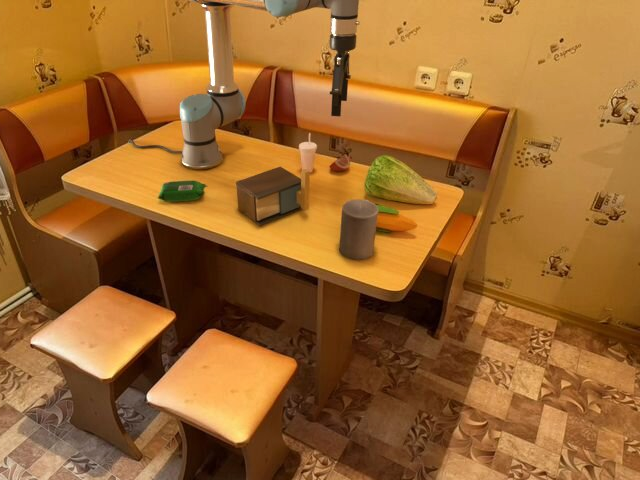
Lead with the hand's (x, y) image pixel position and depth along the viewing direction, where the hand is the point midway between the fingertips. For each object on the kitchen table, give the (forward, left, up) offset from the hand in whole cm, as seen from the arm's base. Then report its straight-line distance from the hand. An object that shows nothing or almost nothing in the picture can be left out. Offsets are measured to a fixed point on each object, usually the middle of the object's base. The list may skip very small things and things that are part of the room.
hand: (339, 108), depth 153 cm
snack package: (-40, -33, -27) cm, 58 cm away
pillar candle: (+22, -31, -27) cm, 47 cm away
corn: (+24, -17, -27) cm, 40 cm away
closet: (-11, -24, -27) cm, 38 cm away
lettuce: (+22, +2, -27) cm, 35 cm away
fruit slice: (-4, +11, -27) cm, 30 cm away
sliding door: (-2, -23, -26) cm, 35 cm away
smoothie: (-14, +5, -27) cm, 31 cm away
